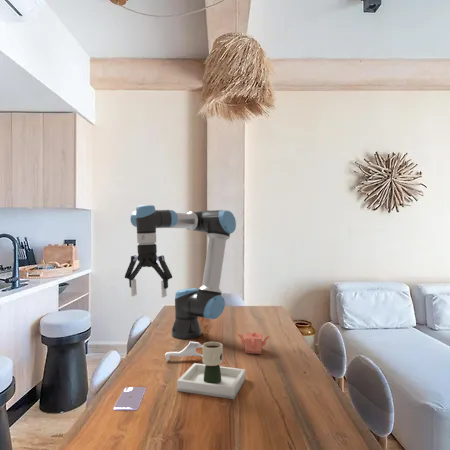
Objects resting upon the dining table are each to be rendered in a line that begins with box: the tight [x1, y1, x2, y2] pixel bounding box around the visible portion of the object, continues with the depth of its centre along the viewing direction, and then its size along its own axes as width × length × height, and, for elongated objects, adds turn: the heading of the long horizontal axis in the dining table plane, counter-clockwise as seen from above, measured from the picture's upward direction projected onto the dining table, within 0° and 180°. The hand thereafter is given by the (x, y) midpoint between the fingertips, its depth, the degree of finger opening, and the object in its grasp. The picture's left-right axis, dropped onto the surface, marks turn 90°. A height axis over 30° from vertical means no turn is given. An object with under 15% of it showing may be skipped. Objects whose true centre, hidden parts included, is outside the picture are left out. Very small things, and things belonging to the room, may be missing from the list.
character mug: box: [202, 341, 224, 383], centre depth 127 cm, size 11×7×13 cm, turn 9°
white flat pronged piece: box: [164, 340, 203, 362], centre depth 151 cm, size 2×11×18 cm
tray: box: [176, 362, 247, 400], centre depth 127 cm, size 16×20×4 cm
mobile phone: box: [112, 386, 147, 412], centre depth 117 cm, size 8×1×15 cm
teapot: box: [236, 331, 271, 355], centre depth 161 cm, size 12×15×8 cm
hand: (148, 296), depth 146 cm, fingers open, 13 cm apart
